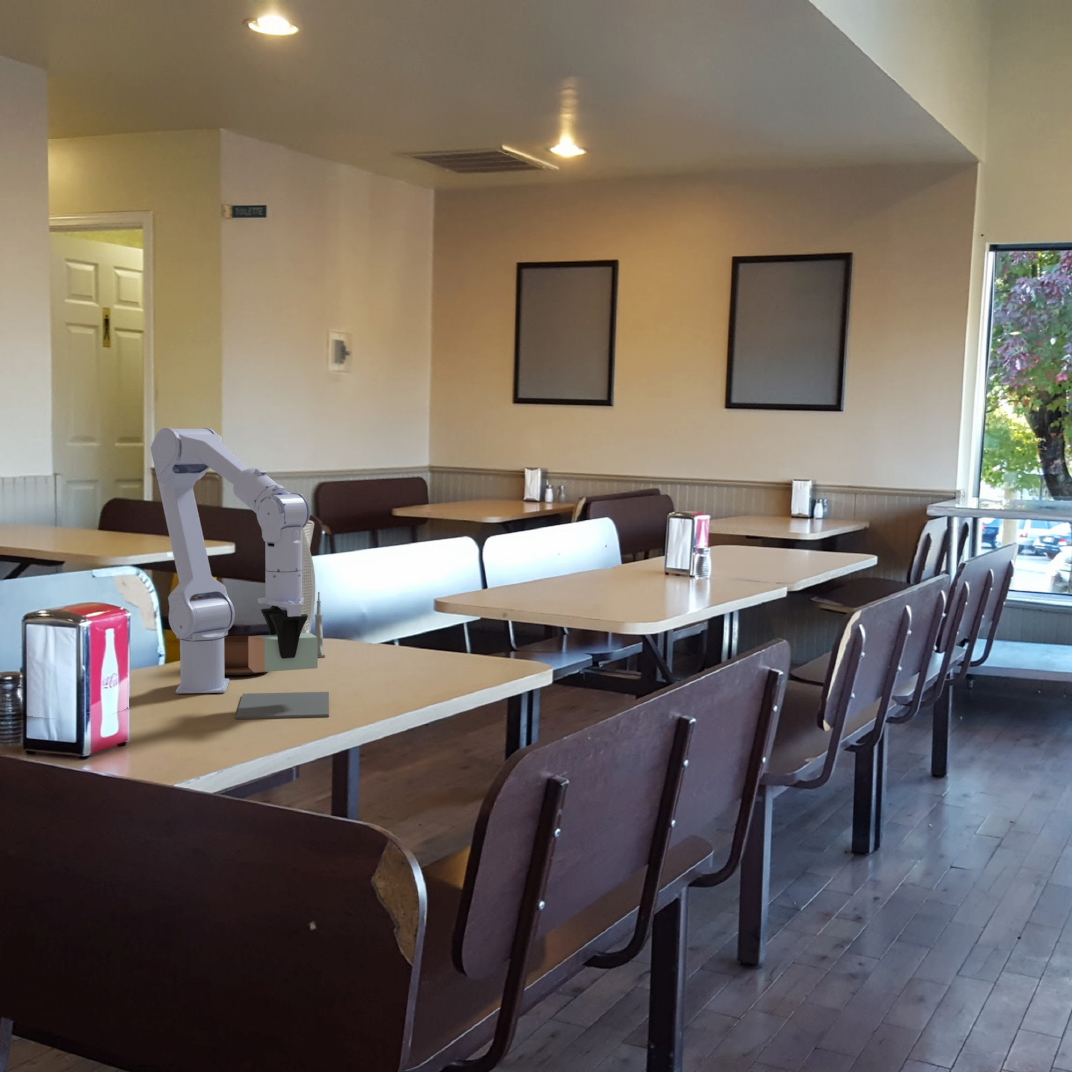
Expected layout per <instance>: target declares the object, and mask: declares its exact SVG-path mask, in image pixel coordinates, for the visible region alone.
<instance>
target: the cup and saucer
mask: <svg viewBox="0 0 1072 1072" xmlns="http://www.w3.org/2000/svg"><path fill="white" fill-rule="evenodd" d="M248 636H249V635H232V636H224V670H225V676H240V677H241V676H249V675H255V674H261V673H262V672H253V671H252V670H251V669H250V668H249V667H248Z"/></svg>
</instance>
